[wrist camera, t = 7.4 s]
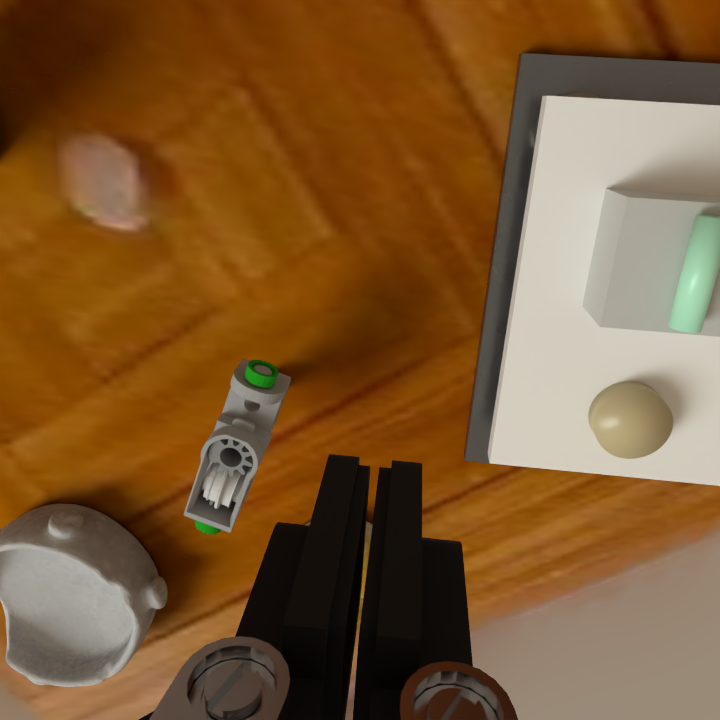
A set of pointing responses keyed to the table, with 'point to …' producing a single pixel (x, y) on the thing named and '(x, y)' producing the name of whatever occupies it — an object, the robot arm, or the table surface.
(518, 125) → the dark grey rectangular slab
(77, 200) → the table surface
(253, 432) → the mechanical component
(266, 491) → the table surface
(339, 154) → the table surface
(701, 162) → the levelling plate
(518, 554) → the table surface
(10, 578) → the dish
